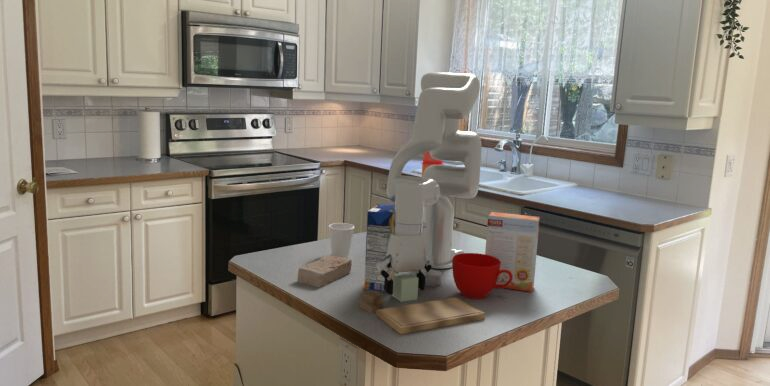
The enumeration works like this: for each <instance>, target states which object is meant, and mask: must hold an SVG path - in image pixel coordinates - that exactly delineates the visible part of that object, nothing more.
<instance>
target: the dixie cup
mask: <svg viewBox="0 0 770 386" xmlns="http://www.w3.org/2000/svg"><path fill="white" fill-rule="evenodd" d="M328 228H329V229H328V230H329V238H330V239H329V240H330V248H331V249H330V250H331V256H339V257H345V258H349V257H350V254H351V250H352V249H351V247H352V243H353V242H352V241H353V237H354V236H353V235H354V229H355V225H354V224H351V223H346V222H334V223H331V224H329V225H328Z"/></svg>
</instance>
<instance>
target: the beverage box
mask: <svg viewBox="0 0 770 386" xmlns="http://www.w3.org/2000/svg"><path fill="white" fill-rule="evenodd" d="M394 215H395V204H394V205H393V204H382V203H378V204H377V205H375V206H374V207H372V208H370V209H368V210H367V215H366V217H367V218H366V219H367V221H366V236H365V237H366V239H365V240H366V241H365V243H366V244H365V262H364V264H365V265H364V266H365V267H364V287H363V289H364V290H365V289H366V290H367V291H371V290H372V291H373V290H374V291H375V292H379V293H386V292H385V290H384V281H385V278H384V277H383V276H382V275H381V274H380V273H379V270H378V268H377V266H376V264H377V263H378V262H380V261H381V260H383V259H384V258H386V252H387V246H388V241H389V237H390V234H391V233H393V232H394ZM384 270H385V271H386V270H387V267H386V265H385V266H384ZM396 274H400V272H399V273H396ZM392 280H393V278H392Z"/></svg>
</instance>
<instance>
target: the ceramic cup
mask: <svg viewBox="0 0 770 386" xmlns="http://www.w3.org/2000/svg"><path fill="white" fill-rule="evenodd" d="M500 264H501V262H500V260H499V259H497V258H495V257H493V256H489V255H485V253H477V252H476V253H475V252H464V253H463V254H458V255H455V256H454V257H453V260H452V267H451V268H452V278H453V282H454V284H455V286H456V288H457V290H458V291H459V293H461V295H462V296H463V297H466V298H468V299H469V298H470V299H473V300H479V299H484V298H486V297H487V296H488V295H489V294H490V293H491V292H492V291H493V290H494V289H501V288H502V287H505V286H507V285H509V284H510V283H511V281H512V278H513V276H512V273H511V272H510V271H509V270H500ZM503 272H505V273H508V274H509V277H510V278H509V281H508V282H507V283H505V284H503V285H496V282H497V280H498V276H499V274H501V273H503ZM502 289H503V288H502Z"/></svg>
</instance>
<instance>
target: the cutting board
mask: <svg viewBox="0 0 770 386" xmlns="http://www.w3.org/2000/svg"><path fill="white" fill-rule="evenodd" d="M375 313H376V317H377V318H378V319H380V320H382V321H383V322H384V323H386V324H387V325H388V326H389V327H391V328H392V329H393V330H394V331H396V332H397V333H399V335H405V334H410V333H415V332H420V331H425V330H426V331H427V330H432V329H437V328H442V327H447V326H453V325H459V324H465V323H469V322H474V321H480V320H485V319H486V312H484V311H483V310H481V309H479V308H477V307H476V306H473V305H472V304H471V303H469V302H467V301H464V300H463V299H461V298H459V297H457V296H456V297H450V298H443V299H437V300H430V301H424V302H418V303H411V304H405V305H400V306H399V305H398V306H393V307H386V308H383V309H378V310H376V312H375Z"/></svg>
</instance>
